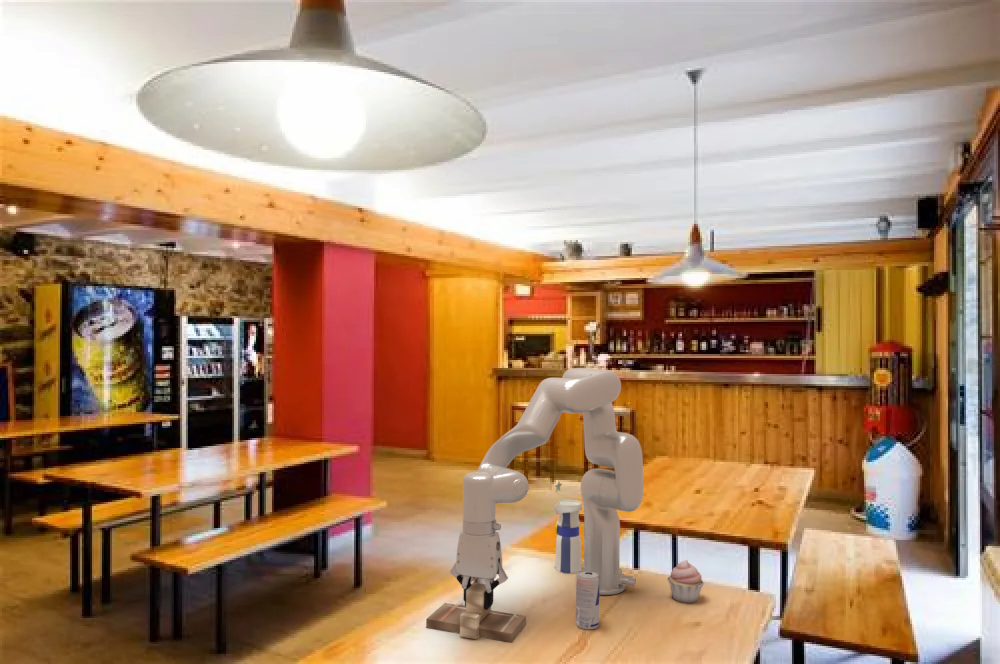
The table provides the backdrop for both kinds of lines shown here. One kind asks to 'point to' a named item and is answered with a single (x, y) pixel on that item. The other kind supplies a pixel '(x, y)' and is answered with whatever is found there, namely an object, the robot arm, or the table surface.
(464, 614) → the stacked wooden blocks
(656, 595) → the table surface
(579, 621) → the energy drink
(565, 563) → the water bottle
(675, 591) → the cupcake
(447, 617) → the board
